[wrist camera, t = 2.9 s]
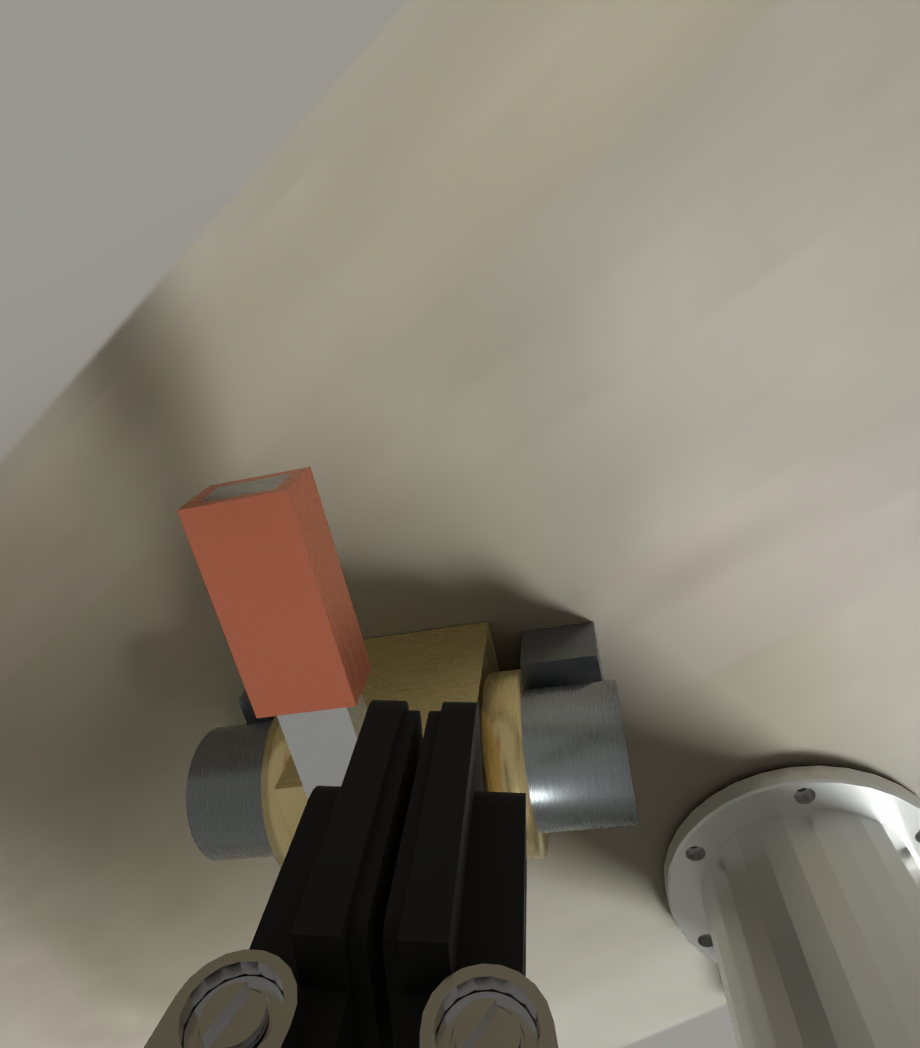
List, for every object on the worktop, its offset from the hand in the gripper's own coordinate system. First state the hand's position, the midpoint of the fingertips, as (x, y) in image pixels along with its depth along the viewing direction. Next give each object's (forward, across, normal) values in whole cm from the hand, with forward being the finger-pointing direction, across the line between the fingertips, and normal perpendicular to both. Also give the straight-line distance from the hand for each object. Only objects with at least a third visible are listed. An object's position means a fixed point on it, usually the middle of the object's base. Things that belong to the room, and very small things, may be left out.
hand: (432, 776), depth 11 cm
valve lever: (+8, +4, +5) cm, 10 cm away
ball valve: (+17, +3, +11) cm, 21 cm away
